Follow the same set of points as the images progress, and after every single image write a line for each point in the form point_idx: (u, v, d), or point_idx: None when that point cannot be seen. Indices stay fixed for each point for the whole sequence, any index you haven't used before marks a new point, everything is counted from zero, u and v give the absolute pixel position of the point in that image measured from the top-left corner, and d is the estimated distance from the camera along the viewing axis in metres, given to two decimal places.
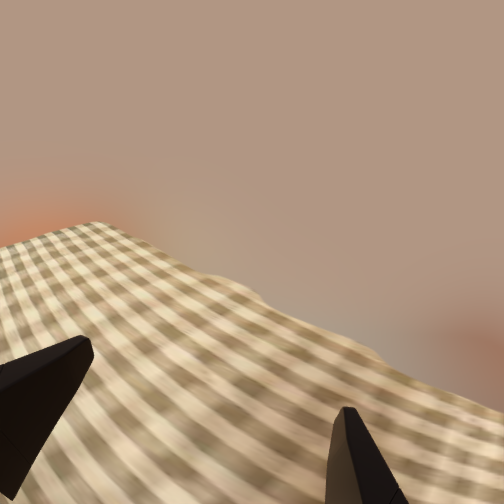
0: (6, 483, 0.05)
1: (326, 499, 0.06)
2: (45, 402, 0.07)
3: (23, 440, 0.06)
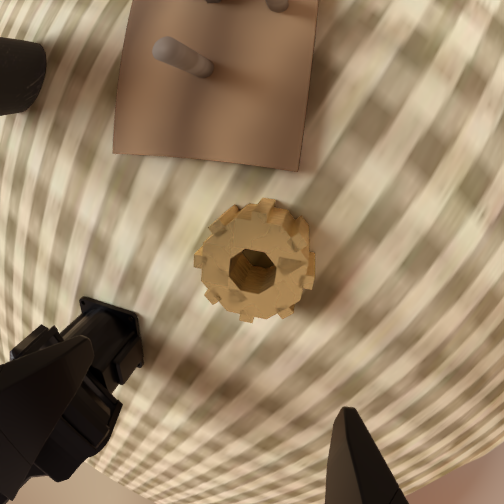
0: (6, 483, 0.05)
1: (326, 499, 0.06)
2: (45, 402, 0.07)
3: (24, 440, 0.06)
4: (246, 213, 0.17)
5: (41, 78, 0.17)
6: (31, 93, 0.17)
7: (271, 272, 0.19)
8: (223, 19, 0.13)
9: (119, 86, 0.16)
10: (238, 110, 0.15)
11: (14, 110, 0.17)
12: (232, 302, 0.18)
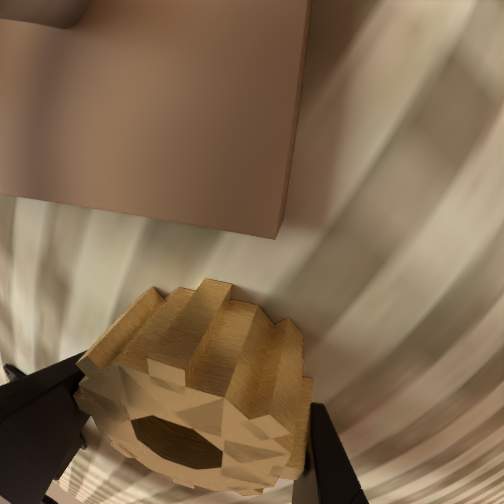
0: (26, 500, 0.04)
1: (293, 496, 0.06)
2: (67, 416, 0.07)
3: (44, 455, 0.06)
4: (152, 338, 0.07)
5: None
6: None
7: None
8: None
9: None
10: (125, 82, 0.05)
11: None
12: (155, 465, 0.08)
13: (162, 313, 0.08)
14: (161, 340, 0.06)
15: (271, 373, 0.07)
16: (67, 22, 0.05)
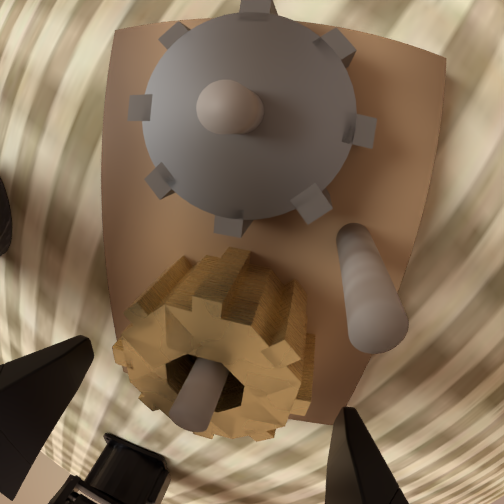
0: (6, 483, 0.05)
1: (326, 499, 0.06)
2: (45, 402, 0.07)
3: (24, 440, 0.06)
4: (190, 288, 0.09)
5: (8, 227, 0.15)
6: (1, 248, 0.15)
7: None
8: (260, 255, 0.11)
9: (113, 308, 0.13)
10: None
11: None
12: None
13: (196, 272, 0.10)
14: (201, 285, 0.08)
15: (284, 315, 0.09)
16: None
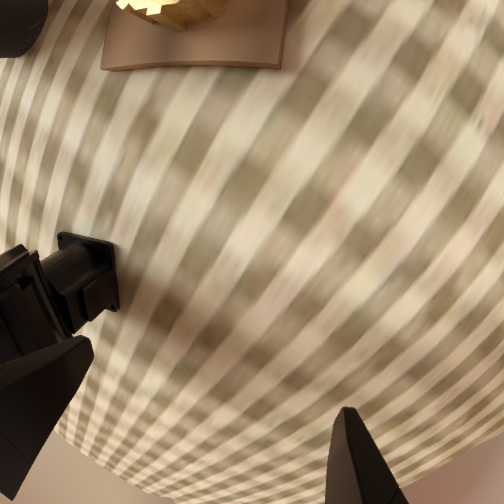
0: (6, 483, 0.05)
1: (326, 499, 0.06)
2: (45, 402, 0.07)
3: (24, 440, 0.06)
4: None
5: (41, 22, 0.15)
6: (31, 35, 0.15)
7: None
8: None
9: (112, 11, 0.14)
10: (220, 16, 0.13)
11: (13, 51, 0.15)
12: None
13: None
14: None
15: None
16: None
